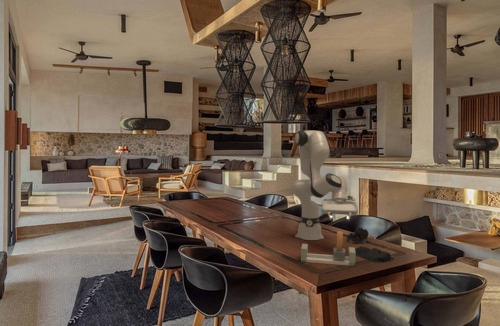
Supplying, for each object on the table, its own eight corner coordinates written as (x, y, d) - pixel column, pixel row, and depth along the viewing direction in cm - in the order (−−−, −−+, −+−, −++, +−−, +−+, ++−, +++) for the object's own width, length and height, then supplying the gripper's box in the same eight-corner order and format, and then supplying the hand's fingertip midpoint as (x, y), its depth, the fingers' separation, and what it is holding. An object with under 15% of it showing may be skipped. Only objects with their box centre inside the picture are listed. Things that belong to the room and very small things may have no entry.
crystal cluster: (342, 242, 243) (343, 227, 242) (351, 237, 253) (352, 222, 252) (361, 248, 235) (362, 233, 233) (370, 242, 245) (371, 227, 243)
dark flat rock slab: (366, 250, 226) (366, 242, 226) (396, 260, 207) (396, 252, 206) (347, 253, 219) (347, 245, 219) (376, 264, 199) (376, 255, 199)
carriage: (333, 253, 205) (334, 229, 205) (344, 254, 204) (345, 230, 203) (333, 257, 198) (334, 233, 197) (345, 258, 196) (346, 233, 196)
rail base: (302, 256, 210) (302, 243, 210) (353, 260, 204) (354, 247, 204) (300, 261, 200) (301, 248, 200) (355, 266, 194) (355, 252, 194)
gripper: (321, 195, 221) (320, 215, 212) (357, 197, 216) (358, 217, 207) (321, 202, 225) (320, 221, 216) (356, 203, 221) (357, 223, 212)
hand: (339, 219), depth 212 cm, fingers open, 8 cm apart
